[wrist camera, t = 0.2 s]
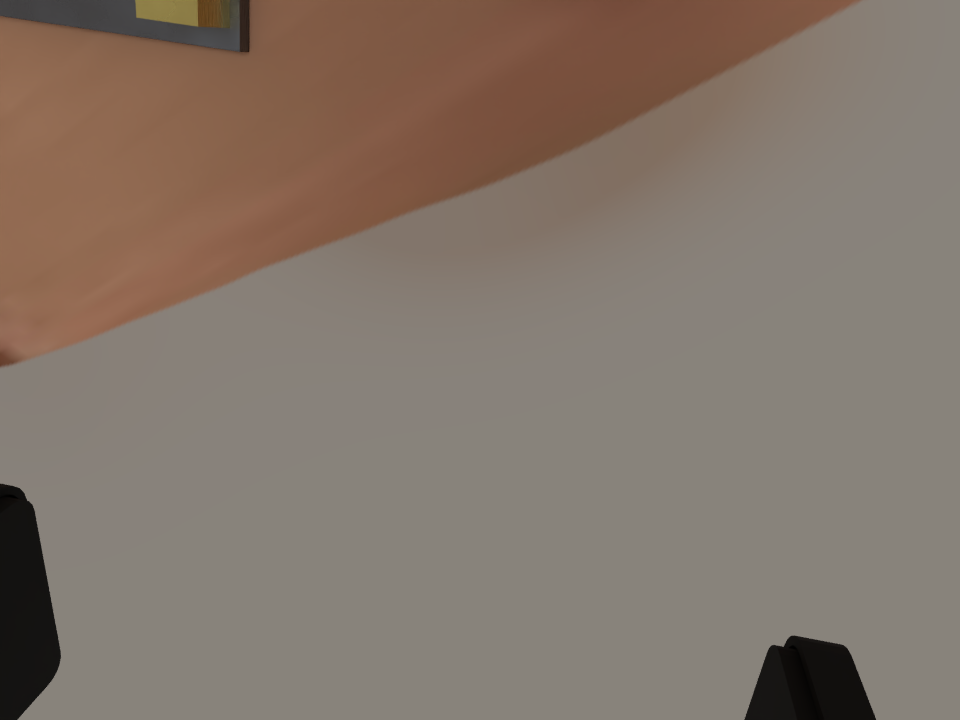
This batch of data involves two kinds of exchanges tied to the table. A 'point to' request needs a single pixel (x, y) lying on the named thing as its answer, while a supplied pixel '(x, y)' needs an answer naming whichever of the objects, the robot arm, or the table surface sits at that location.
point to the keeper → (147, 18)
